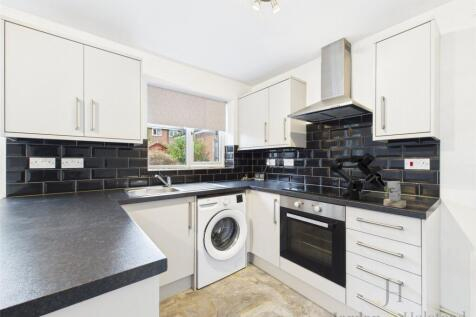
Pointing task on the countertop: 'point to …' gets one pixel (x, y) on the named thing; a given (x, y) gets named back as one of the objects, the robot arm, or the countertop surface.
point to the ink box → (394, 190)
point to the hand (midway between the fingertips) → (383, 186)
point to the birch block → (395, 203)
